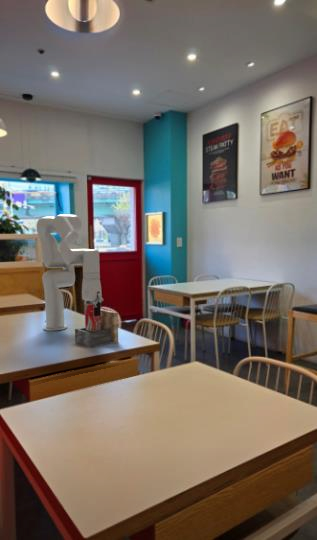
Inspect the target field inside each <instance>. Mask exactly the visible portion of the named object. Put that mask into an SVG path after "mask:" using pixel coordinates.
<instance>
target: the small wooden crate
mask: <svg viewBox="0 0 317 540" xmlns="http://www.w3.org/2000/svg"><path fill="white" fill-rule="evenodd" d="M100 310H101V315H100V316H101V329H100V331H98V332H87V331H86V329H85V327H81V328H74V335H75V336H74V338H75V341H74V342H76V343H78V344H81V345H83V346H86V347H90V348H95V347H99V346H102V345H107V344H111V343H113V344H117V343H119V315H118V314H119V313H118V312H117V311H112V310H108V309H103V308H100Z"/></svg>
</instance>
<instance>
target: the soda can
mask: <svg viewBox="0 0 317 540" xmlns="http://www.w3.org/2000/svg"><path fill="white" fill-rule="evenodd" d="M97 303H98V302H96V304H97ZM94 307H95V306H94V302H89V303H86V305H84V325H85V327H84V328H85V329H86V331H87V332H98V331H100V329H101V316H94Z"/></svg>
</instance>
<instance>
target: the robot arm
mask: <svg viewBox="0 0 317 540" xmlns="http://www.w3.org/2000/svg"><path fill="white" fill-rule="evenodd" d="M81 229H82V220H81V218H80V217H79V216H78V215H77V214H58V215H55V216H44V217H43V216H42V217H40V218H38V220H37V221H36V232H37V233H36V234H37V236H38V238H39V242H40V249H41V254H42V262H43V266H44V267H45V268H49V269H50V268H51V269H53V270H47V271H45V272H44V273H43V274H42V276H41V277H42V285H43V289H44V306H45V307H44V308H45V321H44V322H45V326H43V330H44V331H46V332H47V331H48V332H49V331H50V332H54V331H61V330H62V331H63V330H66V329H67V328H68V324H65V309H64V308H65V307H64V306H65V305H64V294H63V292H62V291H61V290H60V288H66V287H72V286H73V285H75V282H76V273H75V266H82V276H83V277H82V283H81V300H82V301H83V305H84V306H85V305H86V303H89V302H94V306H95V307H94V316H100V315H101V310H100V309H101V307H102V304H103V302H104V298H103V297H102V296H103V295H102V284H101V280H100V279H101V275H100V273H101V272H100V251H99V250H98V249H94V248H93V249H90V248H73V249H72V248H70V246H71V245H73V244H75V243H76V242H77V241H78V239H79V235H80V234H79V232H78V231H80V230H81ZM53 234H57V235H58V237H59V238H60V239H61V240H60V243H59V244H58V241H57V239H56V237H55V236H54V235H53ZM58 245H59V247H58ZM57 268H62V269H57ZM96 302H98V303H97V304H96Z"/></svg>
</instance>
